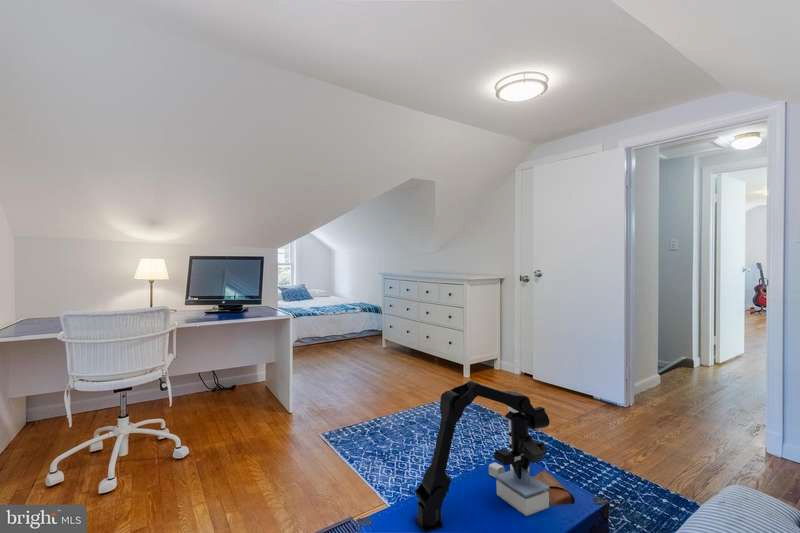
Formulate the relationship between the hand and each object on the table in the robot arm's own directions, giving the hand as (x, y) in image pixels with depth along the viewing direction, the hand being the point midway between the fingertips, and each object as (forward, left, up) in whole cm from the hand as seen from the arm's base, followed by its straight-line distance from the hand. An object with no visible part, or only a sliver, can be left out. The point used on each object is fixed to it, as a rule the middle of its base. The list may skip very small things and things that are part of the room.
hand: (521, 478), depth 129 cm
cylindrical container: (+14, +16, -8) cm, 23 cm away
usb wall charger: (+4, +16, -8) cm, 18 cm away
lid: (0, 0, -3) cm, 3 cm away
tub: (0, 0, -8) cm, 8 cm away
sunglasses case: (+13, 0, -8) cm, 15 cm away
